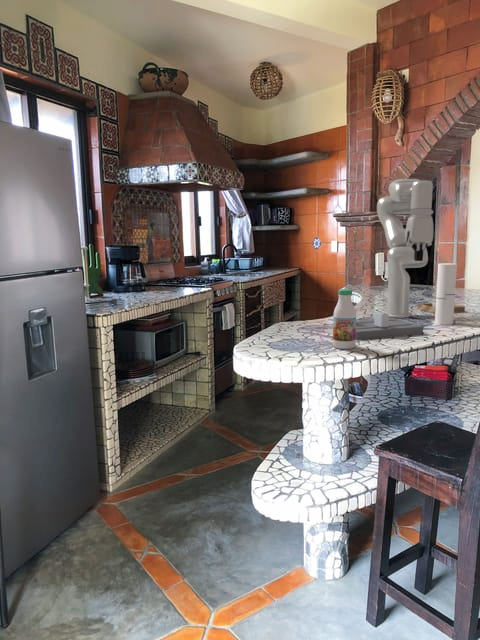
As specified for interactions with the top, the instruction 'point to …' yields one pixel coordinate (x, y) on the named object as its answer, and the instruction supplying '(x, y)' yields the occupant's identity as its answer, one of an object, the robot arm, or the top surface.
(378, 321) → the grey fader
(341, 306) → the milk bottle
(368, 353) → the top surface
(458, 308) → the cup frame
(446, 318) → the cylindrical container
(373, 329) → the fader console
